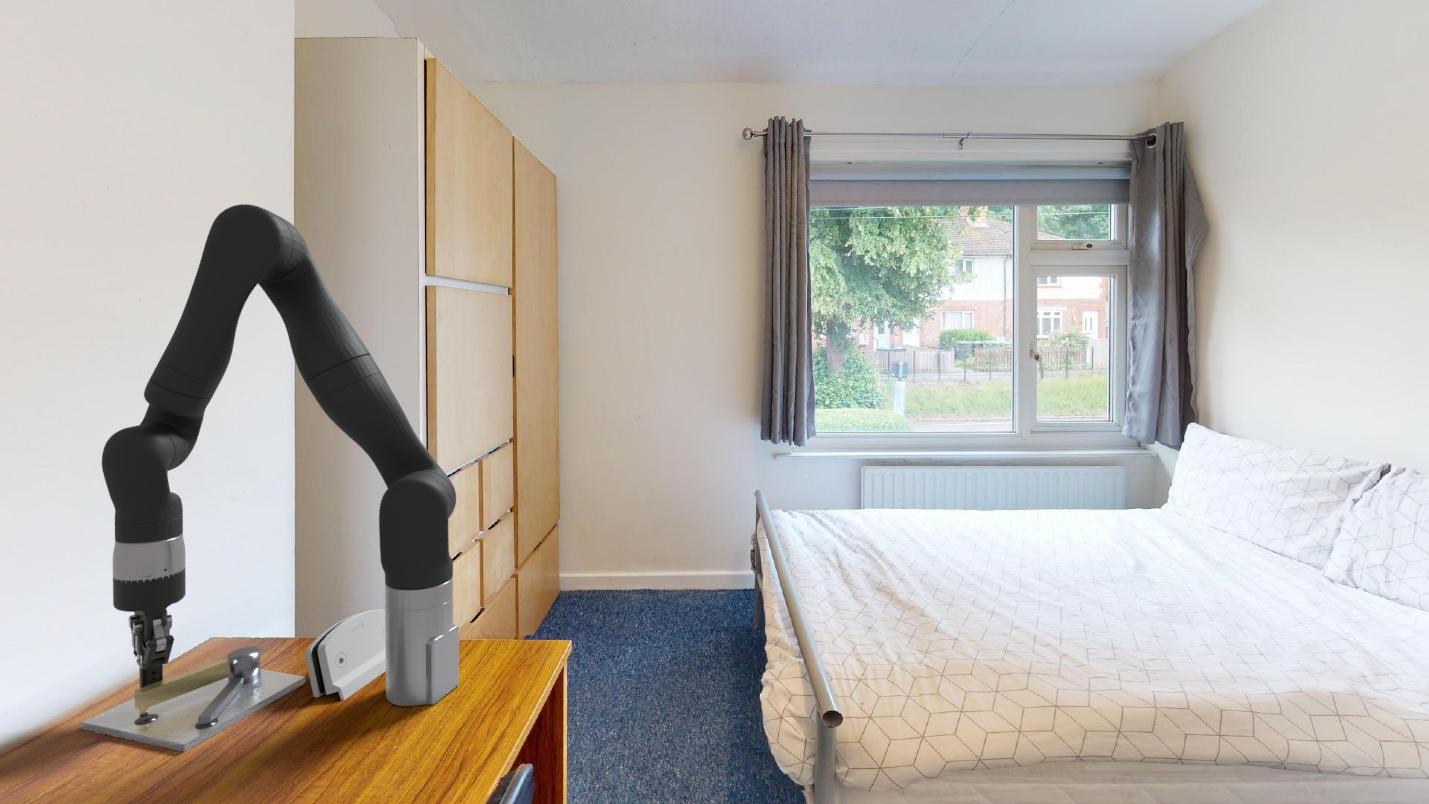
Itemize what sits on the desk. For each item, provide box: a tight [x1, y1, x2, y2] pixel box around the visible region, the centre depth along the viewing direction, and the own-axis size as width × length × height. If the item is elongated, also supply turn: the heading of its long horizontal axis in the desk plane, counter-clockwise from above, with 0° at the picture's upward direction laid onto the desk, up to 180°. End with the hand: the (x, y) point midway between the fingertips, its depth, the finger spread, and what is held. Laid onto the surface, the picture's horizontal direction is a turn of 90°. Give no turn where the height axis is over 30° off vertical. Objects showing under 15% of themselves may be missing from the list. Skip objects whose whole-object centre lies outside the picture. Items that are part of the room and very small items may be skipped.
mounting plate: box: [80, 646, 306, 753], centre depth 93 cm, size 18×18×5 cm
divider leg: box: [133, 658, 229, 717], centre depth 91 cm, size 10×2×4 cm, turn 153°
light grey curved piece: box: [304, 608, 386, 701], centre depth 103 cm, size 17×5×10 cm, turn 170°
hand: (151, 690), depth 90 cm, fingers closed
